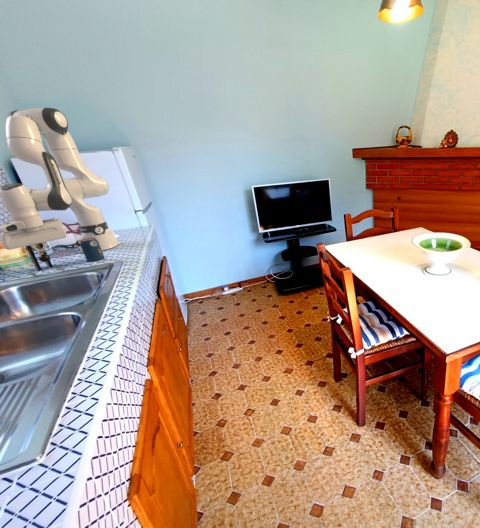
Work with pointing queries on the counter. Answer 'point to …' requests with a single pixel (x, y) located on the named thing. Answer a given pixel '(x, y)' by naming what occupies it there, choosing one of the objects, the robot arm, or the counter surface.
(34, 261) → the bracket
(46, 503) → the counter surface
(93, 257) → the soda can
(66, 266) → the counter surface
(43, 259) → the lever
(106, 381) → the counter surface
